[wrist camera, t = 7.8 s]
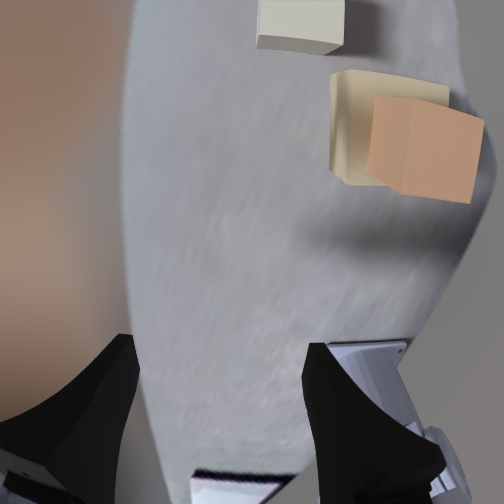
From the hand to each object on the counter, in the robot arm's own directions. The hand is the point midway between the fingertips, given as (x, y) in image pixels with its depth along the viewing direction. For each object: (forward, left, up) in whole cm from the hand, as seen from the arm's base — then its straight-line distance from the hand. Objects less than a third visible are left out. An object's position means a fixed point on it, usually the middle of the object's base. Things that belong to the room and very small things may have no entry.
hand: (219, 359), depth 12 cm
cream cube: (+15, -3, -10) cm, 18 cm away
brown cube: (+9, -9, -6) cm, 14 cm away
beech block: (+9, -9, -10) cm, 16 cm away
